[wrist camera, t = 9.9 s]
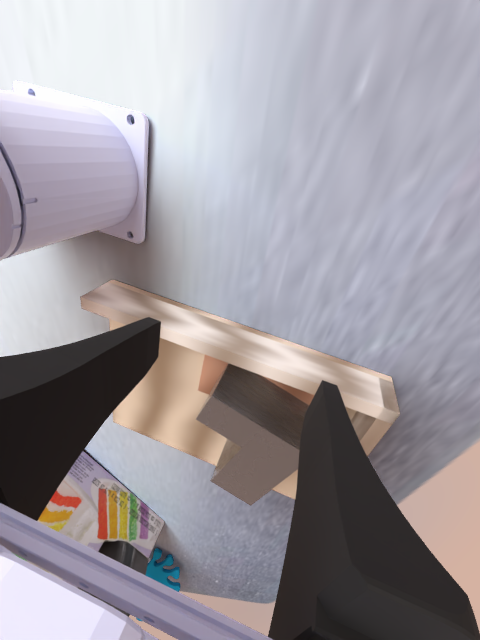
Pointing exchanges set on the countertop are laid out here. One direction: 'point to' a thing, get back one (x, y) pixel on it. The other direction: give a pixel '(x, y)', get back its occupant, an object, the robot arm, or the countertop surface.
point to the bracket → (253, 432)
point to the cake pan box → (102, 517)
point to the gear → (163, 571)
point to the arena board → (209, 362)
